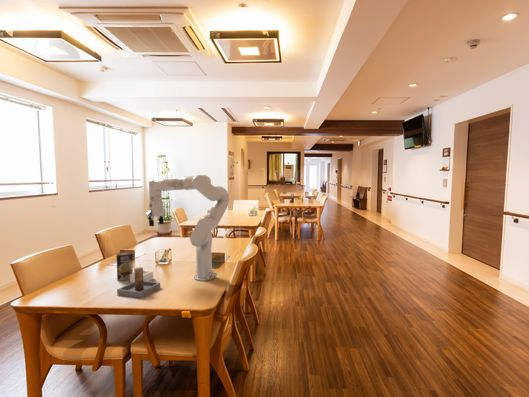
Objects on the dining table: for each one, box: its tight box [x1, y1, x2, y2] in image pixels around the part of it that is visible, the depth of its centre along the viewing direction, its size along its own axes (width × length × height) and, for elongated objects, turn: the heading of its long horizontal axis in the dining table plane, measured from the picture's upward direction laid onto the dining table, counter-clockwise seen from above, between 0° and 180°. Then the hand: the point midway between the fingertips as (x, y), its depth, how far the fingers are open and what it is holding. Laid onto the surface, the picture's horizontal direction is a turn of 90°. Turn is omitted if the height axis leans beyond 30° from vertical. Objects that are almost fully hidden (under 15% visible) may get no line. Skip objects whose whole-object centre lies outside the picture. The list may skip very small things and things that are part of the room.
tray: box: [116, 280, 161, 299], centre depth 171 cm, size 16×16×3 cm
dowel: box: [133, 266, 144, 291], centre depth 171 cm, size 4×4×12 cm
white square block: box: [129, 269, 154, 283], centre depth 189 cm, size 10×10×5 cm
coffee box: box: [115, 252, 134, 282], centre depth 192 cm, size 9×6×16 cm
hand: (156, 224), depth 197 cm, fingers open, 9 cm apart
